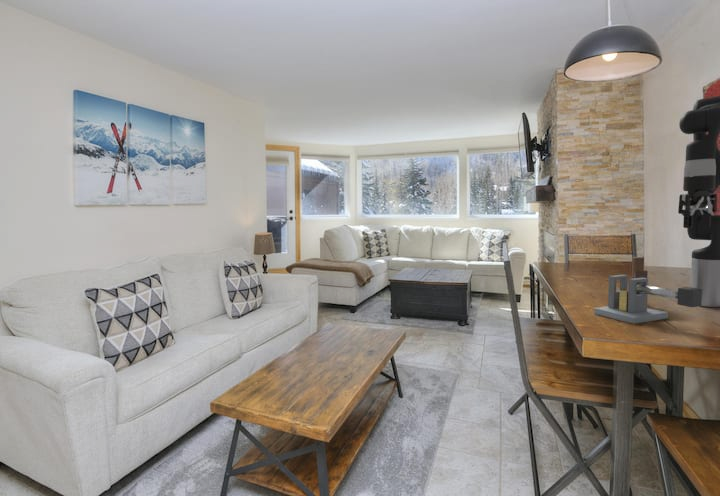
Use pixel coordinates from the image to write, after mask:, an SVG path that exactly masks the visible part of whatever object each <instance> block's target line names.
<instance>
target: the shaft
mask: <svg viewBox="0 0 720 496" xmlns="http://www.w3.org/2000/svg"><path fill="white" fill-rule="evenodd" d="M636 291H637V292H638V293H644V294H648V295H651V296H654V297H661V298H666V299H667V298H668V299H673V300H677V303H676V304H677V305H679V306H684V307H688V308H696V307H702V306H701V303H702V289H698V288H691V287H690V286H684V287H683V286H682V287H678V288H677V289H674V288H672V289H671V288H666V287H665V288H664V287H660V286H659V287H658V286H654V285H653V286H652V285H649V284H648V285H641V284H638V285H637V288H636Z"/></svg>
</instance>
